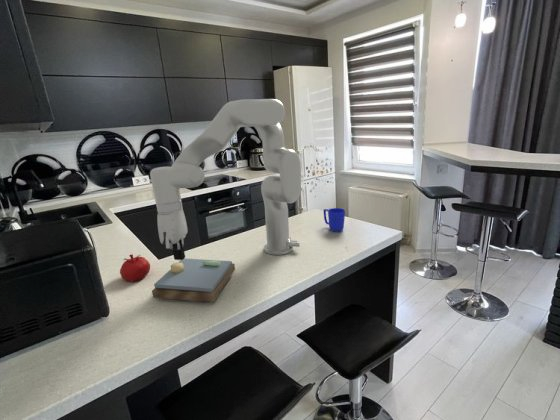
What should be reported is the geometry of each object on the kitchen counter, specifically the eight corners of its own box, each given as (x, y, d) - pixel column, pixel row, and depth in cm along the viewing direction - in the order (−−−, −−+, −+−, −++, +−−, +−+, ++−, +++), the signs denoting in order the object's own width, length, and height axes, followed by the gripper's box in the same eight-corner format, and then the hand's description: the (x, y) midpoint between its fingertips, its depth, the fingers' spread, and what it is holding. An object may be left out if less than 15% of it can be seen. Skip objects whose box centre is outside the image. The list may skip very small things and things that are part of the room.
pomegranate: (157, 273, 110) (153, 251, 107) (133, 286, 101) (129, 262, 98) (138, 268, 114) (135, 246, 111) (115, 280, 105) (110, 257, 103)
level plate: (232, 264, 104) (231, 256, 104) (212, 292, 88) (211, 282, 87) (183, 261, 108) (181, 253, 107) (154, 287, 91) (153, 278, 90)
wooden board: (235, 273, 106) (234, 263, 105) (214, 306, 88) (212, 294, 87) (184, 270, 110) (183, 261, 109) (153, 301, 91) (151, 290, 90)
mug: (329, 224, 152) (329, 205, 149) (348, 229, 143) (348, 210, 140) (318, 228, 147) (318, 209, 144) (337, 234, 138) (337, 214, 135)
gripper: (171, 200, 100) (180, 248, 105) (144, 214, 86) (157, 269, 91) (191, 199, 98) (199, 249, 104) (167, 214, 84) (179, 270, 90)
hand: (179, 258), depth 98 cm, fingers closed
